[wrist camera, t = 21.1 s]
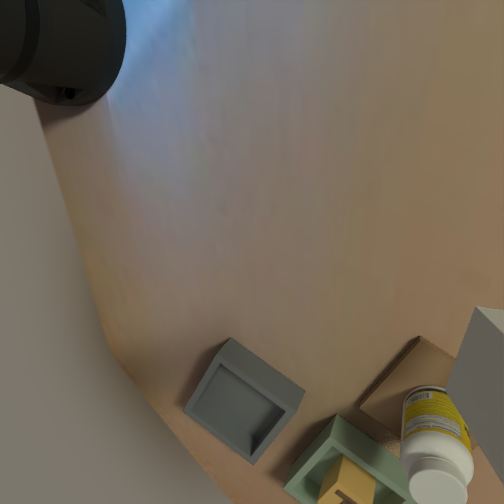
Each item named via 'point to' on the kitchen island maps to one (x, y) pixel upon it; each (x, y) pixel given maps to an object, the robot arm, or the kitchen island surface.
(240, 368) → the charcoal bin
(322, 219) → the kitchen island surface
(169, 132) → the kitchen island surface
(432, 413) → the supplement bottle
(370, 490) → the marked cube
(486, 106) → the kitchen island surface
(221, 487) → the kitchen island surface
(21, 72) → the robot arm
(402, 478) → the sage bin
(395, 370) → the walnut pad
